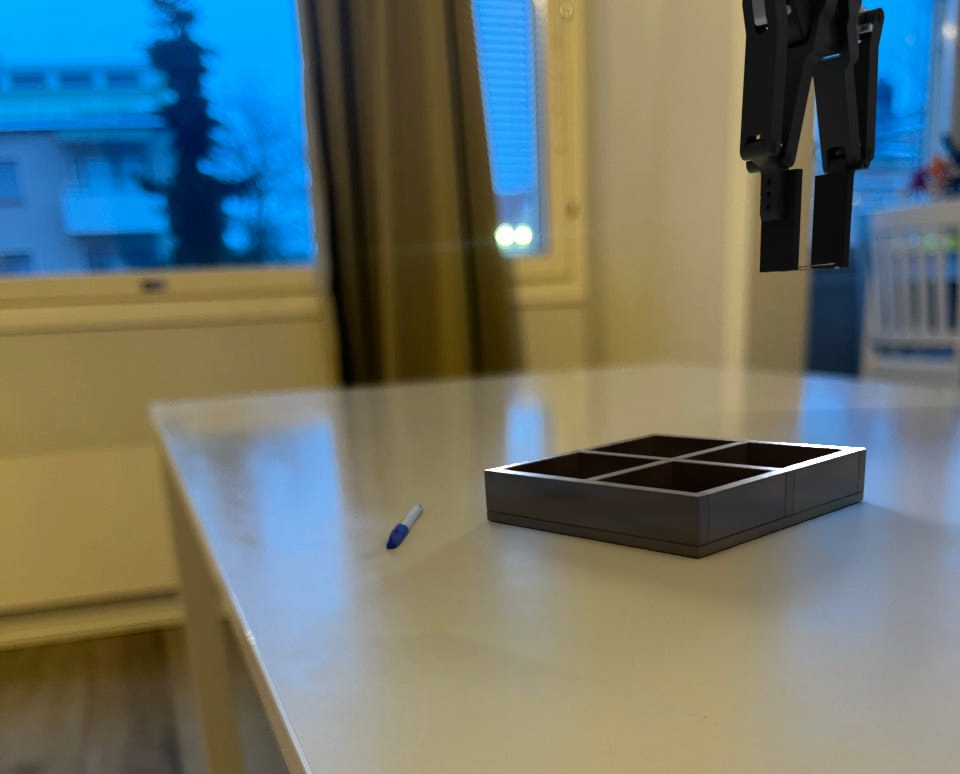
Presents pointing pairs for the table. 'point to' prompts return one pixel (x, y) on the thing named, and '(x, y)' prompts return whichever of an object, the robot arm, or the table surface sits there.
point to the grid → (676, 490)
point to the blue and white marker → (403, 528)
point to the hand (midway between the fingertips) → (804, 269)
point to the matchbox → (812, 268)
